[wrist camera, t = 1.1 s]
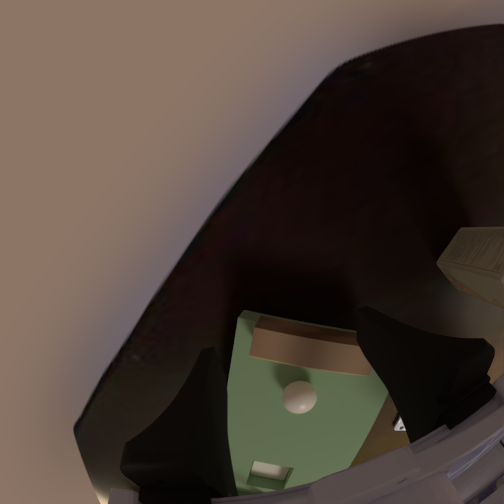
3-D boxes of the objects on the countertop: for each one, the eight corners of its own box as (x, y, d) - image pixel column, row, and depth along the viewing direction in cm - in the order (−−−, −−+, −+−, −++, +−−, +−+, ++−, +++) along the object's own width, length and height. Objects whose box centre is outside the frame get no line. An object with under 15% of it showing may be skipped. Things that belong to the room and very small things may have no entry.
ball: (320, 377, 23) (321, 396, 20) (311, 403, 24) (311, 422, 21) (287, 371, 24) (284, 389, 21) (280, 397, 24) (276, 416, 21)
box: (455, 290, 22) (519, 321, 11) (433, 262, 23) (499, 283, 12) (482, 252, 21) (551, 265, 10) (462, 223, 22) (531, 224, 11)
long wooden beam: (371, 335, 22) (379, 348, 19) (362, 362, 22) (368, 378, 19) (260, 315, 24) (254, 327, 21) (255, 343, 24) (248, 357, 21)
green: (399, 336, 24) (433, 382, 15) (321, 495, 27) (318, 542, 18) (244, 309, 27) (212, 349, 17) (216, 476, 30) (195, 520, 21)
